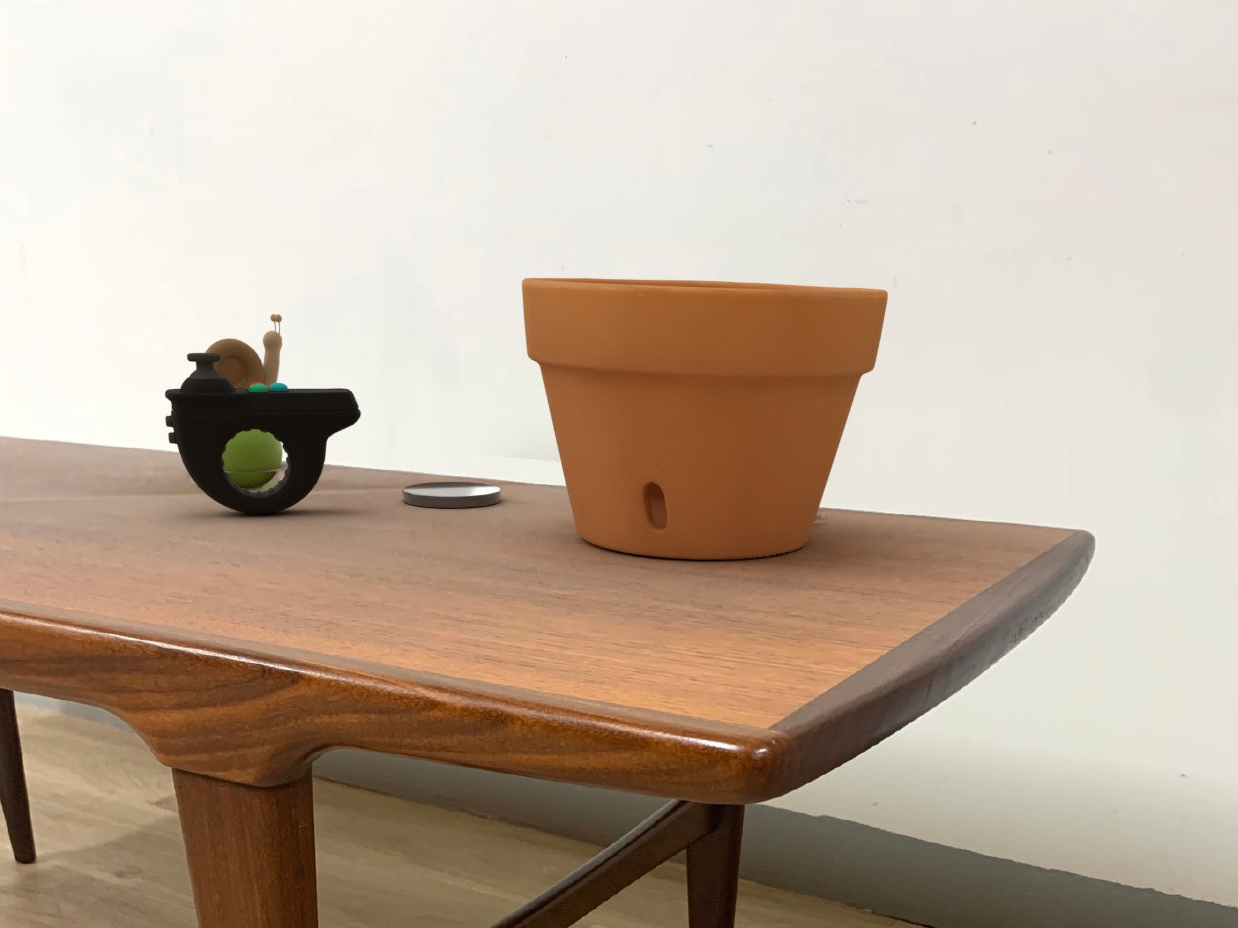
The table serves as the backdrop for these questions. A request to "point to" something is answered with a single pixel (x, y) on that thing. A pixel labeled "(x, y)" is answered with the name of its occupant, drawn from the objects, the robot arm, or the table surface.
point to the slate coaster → (451, 494)
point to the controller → (221, 411)
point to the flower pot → (698, 406)
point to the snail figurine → (242, 370)
